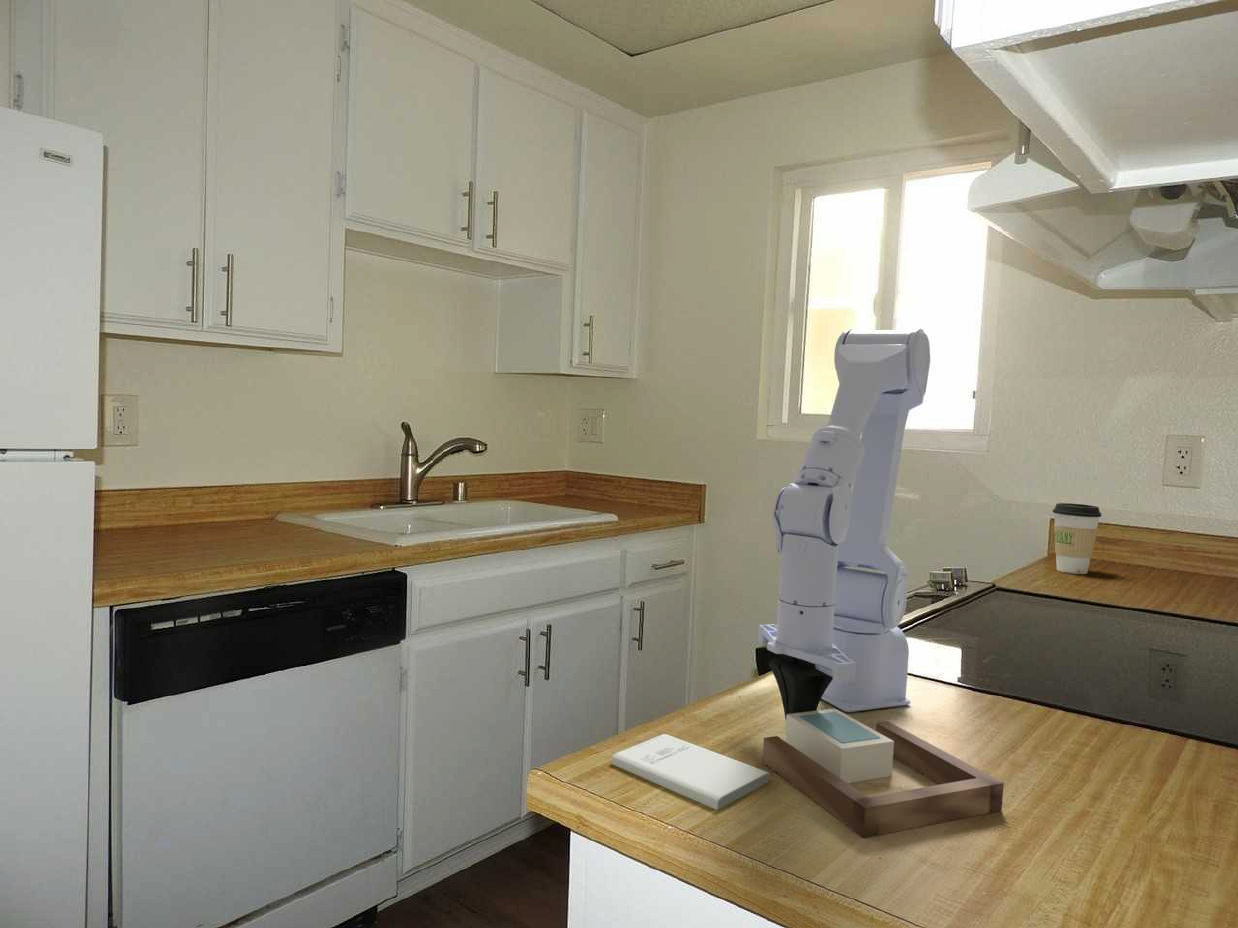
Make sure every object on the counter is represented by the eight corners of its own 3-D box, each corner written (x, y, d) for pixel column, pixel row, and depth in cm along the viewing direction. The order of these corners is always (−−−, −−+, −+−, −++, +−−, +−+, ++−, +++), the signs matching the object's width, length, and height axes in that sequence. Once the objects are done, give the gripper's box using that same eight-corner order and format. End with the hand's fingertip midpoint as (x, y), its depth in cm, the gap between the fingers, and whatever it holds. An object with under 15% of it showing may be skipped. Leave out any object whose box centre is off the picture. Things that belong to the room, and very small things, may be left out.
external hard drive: (716, 817, 74) (610, 769, 82) (769, 787, 80) (666, 746, 88) (717, 798, 73) (611, 753, 82) (770, 770, 79) (666, 730, 88)
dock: (886, 744, 89) (887, 721, 89) (1001, 810, 76) (1003, 782, 75) (762, 762, 83) (763, 737, 83) (863, 837, 70) (865, 807, 70)
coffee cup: (1049, 565, 202) (1054, 501, 201) (1097, 570, 198) (1102, 505, 196) (1046, 571, 194) (1051, 505, 193) (1096, 577, 189) (1102, 509, 188)
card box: (833, 740, 90) (835, 707, 90) (891, 776, 82) (894, 740, 82) (784, 747, 88) (786, 713, 87) (839, 785, 79) (842, 747, 79)
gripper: (736, 586, 94) (730, 708, 95) (816, 620, 81) (807, 761, 82) (791, 584, 97) (784, 702, 98) (876, 616, 83) (867, 752, 84)
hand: (798, 728), depth 90 cm, fingers closed
